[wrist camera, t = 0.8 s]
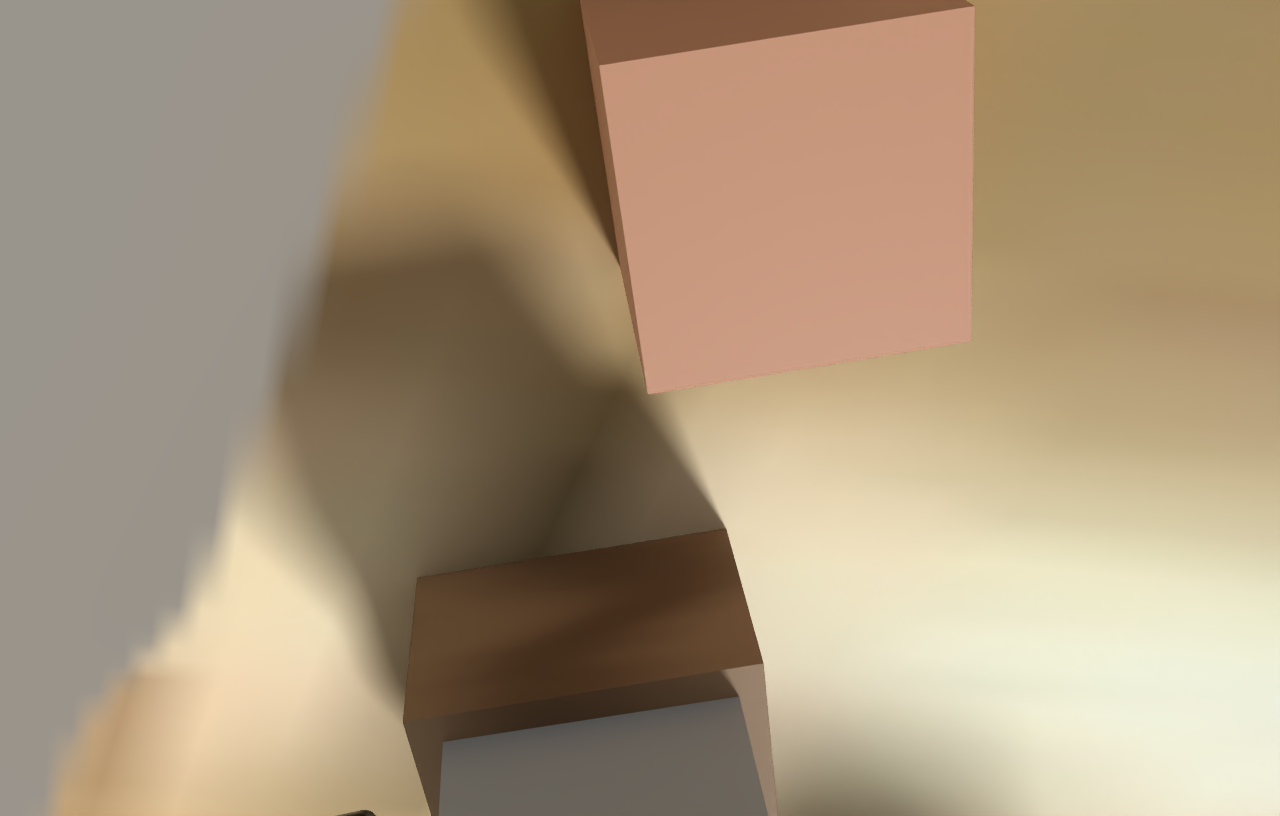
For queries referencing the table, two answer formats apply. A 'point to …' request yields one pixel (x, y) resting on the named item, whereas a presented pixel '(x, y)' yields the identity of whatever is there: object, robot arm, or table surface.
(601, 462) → the table surface
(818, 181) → the terracotta cube
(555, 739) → the slate block
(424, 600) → the walnut base block
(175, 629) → the table surface
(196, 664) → the table surface
